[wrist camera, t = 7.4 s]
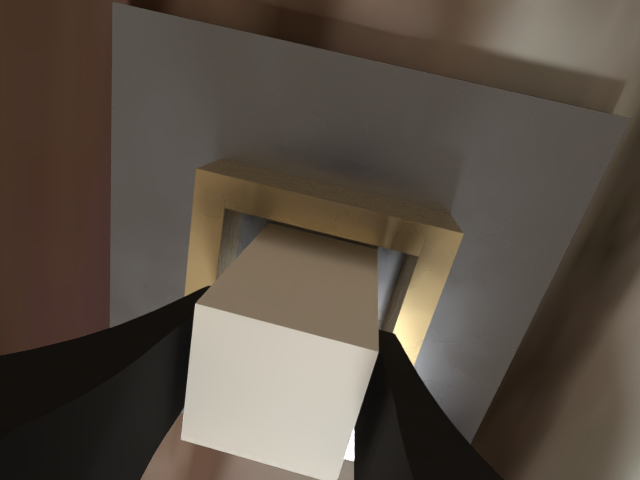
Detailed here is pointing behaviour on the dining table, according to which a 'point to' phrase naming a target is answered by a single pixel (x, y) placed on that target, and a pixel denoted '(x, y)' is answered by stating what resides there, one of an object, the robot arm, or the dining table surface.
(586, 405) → the dining table surface
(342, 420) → the cream block
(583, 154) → the socket plate
